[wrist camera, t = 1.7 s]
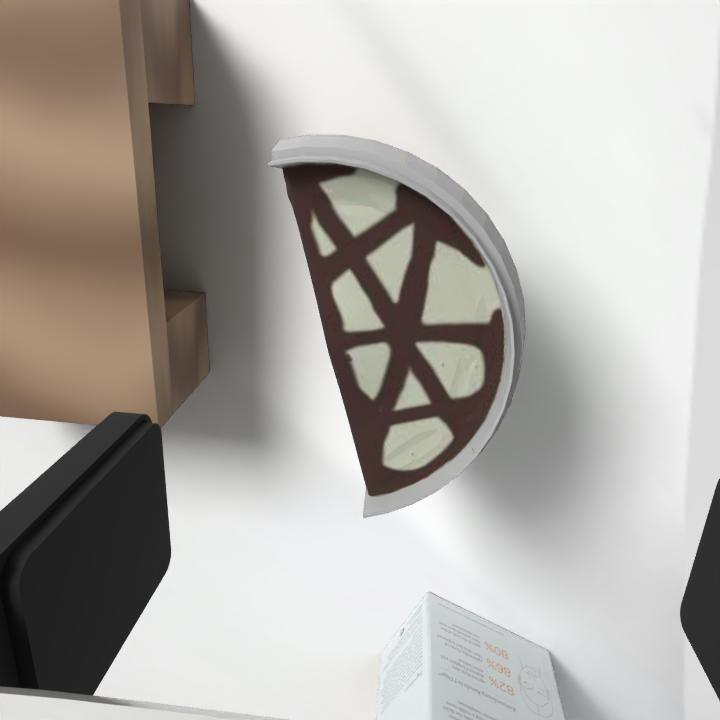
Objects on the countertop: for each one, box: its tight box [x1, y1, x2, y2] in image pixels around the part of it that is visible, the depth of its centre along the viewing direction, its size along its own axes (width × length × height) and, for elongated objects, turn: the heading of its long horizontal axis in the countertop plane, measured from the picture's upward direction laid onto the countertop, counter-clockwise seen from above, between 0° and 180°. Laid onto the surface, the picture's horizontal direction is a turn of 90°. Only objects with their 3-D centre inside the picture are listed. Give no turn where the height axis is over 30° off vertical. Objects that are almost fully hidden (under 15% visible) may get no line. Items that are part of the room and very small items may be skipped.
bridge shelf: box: [0, 0, 210, 428], centre depth 24 cm, size 16×10×6 cm, turn 177°
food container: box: [268, 135, 525, 518], centre depth 22 cm, size 12×6×10 cm, turn 13°
